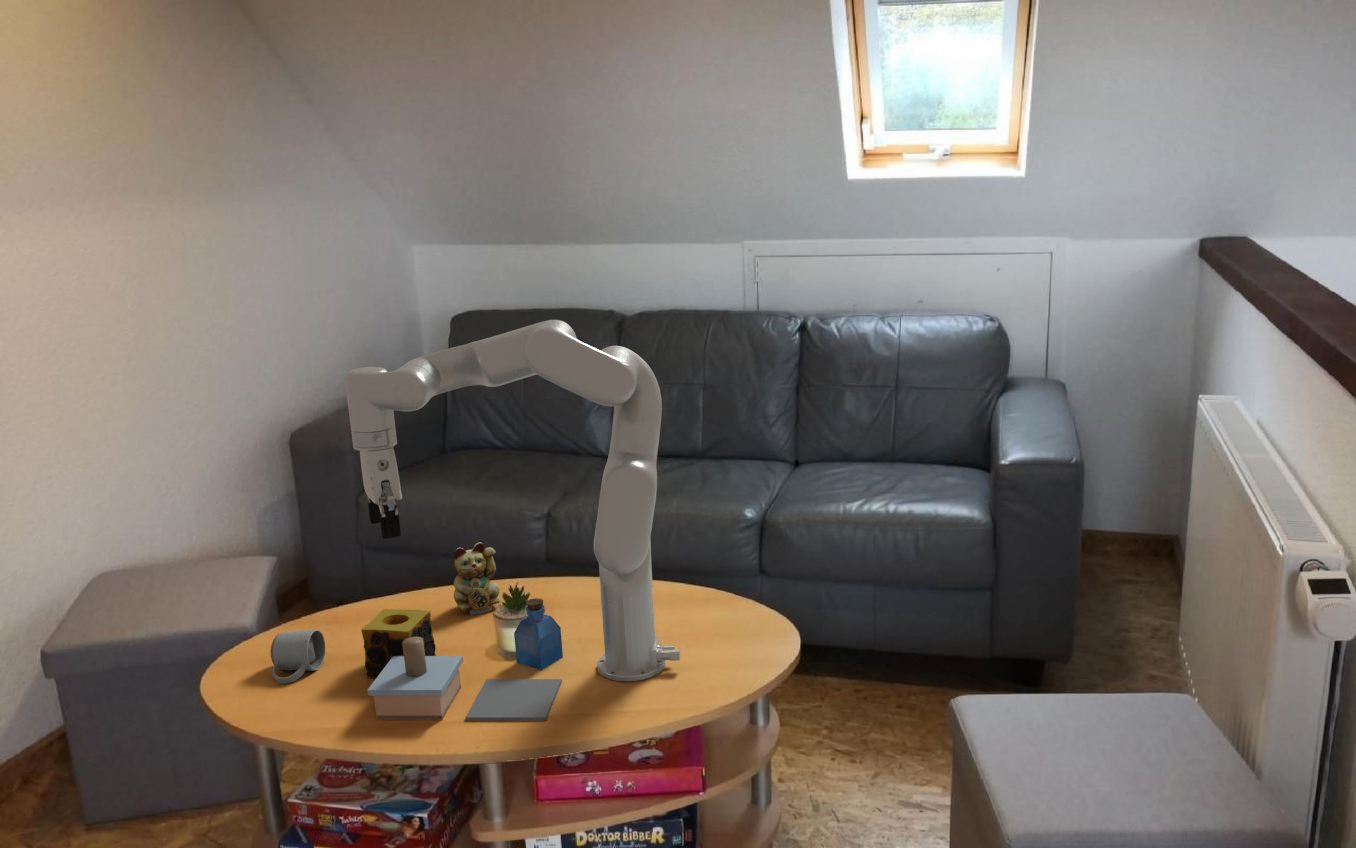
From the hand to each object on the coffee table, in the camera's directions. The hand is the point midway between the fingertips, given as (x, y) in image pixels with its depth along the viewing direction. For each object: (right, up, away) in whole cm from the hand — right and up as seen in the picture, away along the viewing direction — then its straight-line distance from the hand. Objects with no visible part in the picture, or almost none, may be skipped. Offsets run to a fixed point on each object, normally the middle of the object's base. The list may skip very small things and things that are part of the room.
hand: (385, 529), depth 202 cm
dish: (+7, -31, -3) cm, 31 cm away
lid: (+7, -26, -4) cm, 27 cm away
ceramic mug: (-20, -28, +12) cm, 37 cm away
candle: (0, -28, +12) cm, 30 cm away
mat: (+24, -30, -4) cm, 38 cm away
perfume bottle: (+26, -26, +12) cm, 39 cm away
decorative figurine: (+10, -21, +38) cm, 44 cm away
